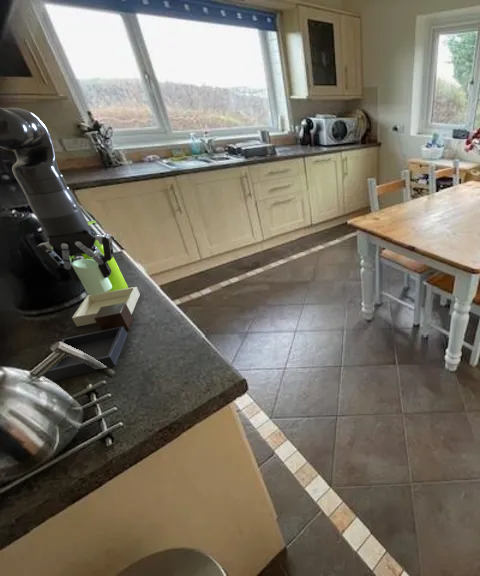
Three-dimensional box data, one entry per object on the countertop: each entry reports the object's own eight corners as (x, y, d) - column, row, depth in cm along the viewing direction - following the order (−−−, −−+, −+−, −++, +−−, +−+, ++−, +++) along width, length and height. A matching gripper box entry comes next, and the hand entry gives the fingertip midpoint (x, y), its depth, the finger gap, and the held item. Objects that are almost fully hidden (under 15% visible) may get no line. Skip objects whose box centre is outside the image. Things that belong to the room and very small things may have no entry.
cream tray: (76, 326, 79) (71, 318, 78) (91, 303, 88) (87, 295, 87) (131, 315, 83) (127, 307, 82) (140, 294, 92) (136, 286, 90)
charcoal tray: (46, 382, 64) (39, 373, 62) (68, 347, 72) (62, 338, 71) (115, 366, 67) (109, 356, 66) (127, 334, 76) (123, 325, 75)
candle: (115, 283, 85) (101, 255, 81) (107, 293, 81) (91, 263, 77) (93, 286, 84) (77, 257, 80) (83, 296, 80) (66, 266, 76)
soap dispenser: (134, 283, 97) (103, 218, 87) (122, 295, 91) (88, 227, 81) (112, 285, 96) (78, 219, 86) (98, 297, 90) (61, 229, 80)
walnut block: (103, 335, 76) (93, 318, 73) (109, 323, 80) (100, 306, 77) (129, 330, 78) (120, 313, 75) (133, 318, 82) (125, 302, 79)
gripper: (102, 202, 77) (131, 266, 86) (24, 210, 73) (64, 277, 81) (92, 211, 71) (125, 279, 80) (7, 221, 67) (51, 292, 75)
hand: (94, 278), depth 81 cm, fingers closed on candle, 4 cm apart
